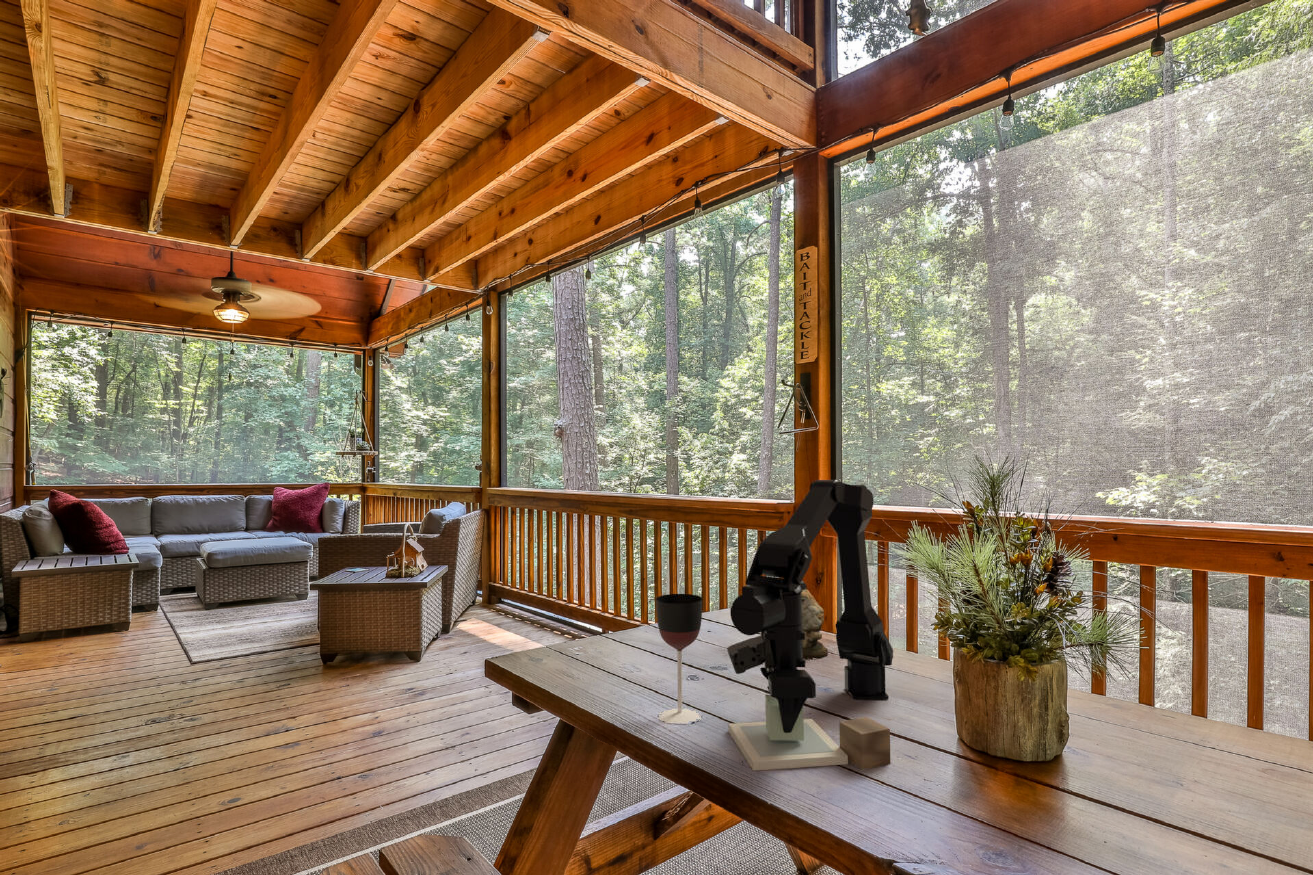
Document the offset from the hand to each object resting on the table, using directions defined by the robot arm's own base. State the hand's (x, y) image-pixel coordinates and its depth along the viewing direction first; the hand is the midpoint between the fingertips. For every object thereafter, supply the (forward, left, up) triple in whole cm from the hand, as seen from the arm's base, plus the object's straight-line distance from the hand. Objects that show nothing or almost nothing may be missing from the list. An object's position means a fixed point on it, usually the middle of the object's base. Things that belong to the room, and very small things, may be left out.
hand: (784, 725), depth 101 cm
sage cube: (0, 0, -1) cm, 1 cm away
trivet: (0, 0, -3) cm, 3 cm away
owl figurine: (-10, -54, -4) cm, 55 cm away
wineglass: (+16, -12, -3) cm, 20 cm away
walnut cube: (-11, +4, -3) cm, 12 cm away
